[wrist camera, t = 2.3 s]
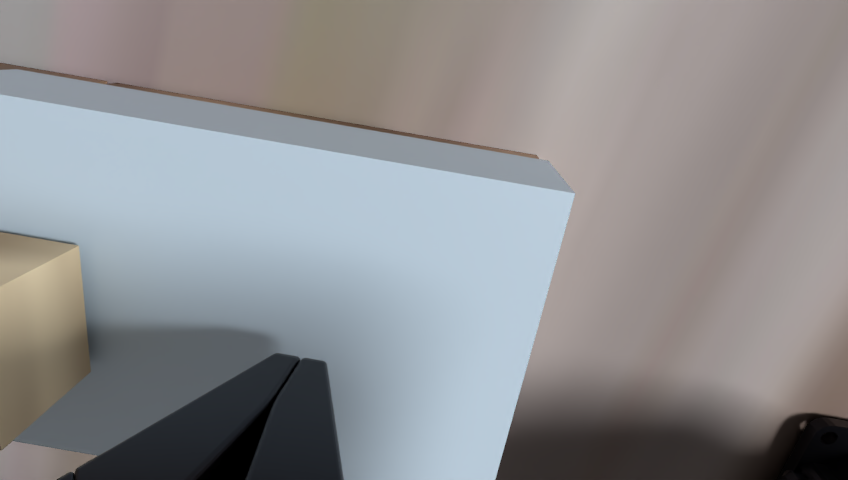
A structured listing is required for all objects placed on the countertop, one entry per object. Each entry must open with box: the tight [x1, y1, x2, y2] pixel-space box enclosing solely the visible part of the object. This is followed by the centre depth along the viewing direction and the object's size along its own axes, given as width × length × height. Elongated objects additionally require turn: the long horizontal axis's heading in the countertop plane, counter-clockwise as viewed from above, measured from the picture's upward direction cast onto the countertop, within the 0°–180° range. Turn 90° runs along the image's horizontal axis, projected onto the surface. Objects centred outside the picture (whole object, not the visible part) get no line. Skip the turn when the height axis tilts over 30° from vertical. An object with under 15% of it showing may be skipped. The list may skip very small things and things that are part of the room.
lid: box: [0, 69, 575, 480], centre depth 10 cm, size 11×7×2 cm, turn 81°
